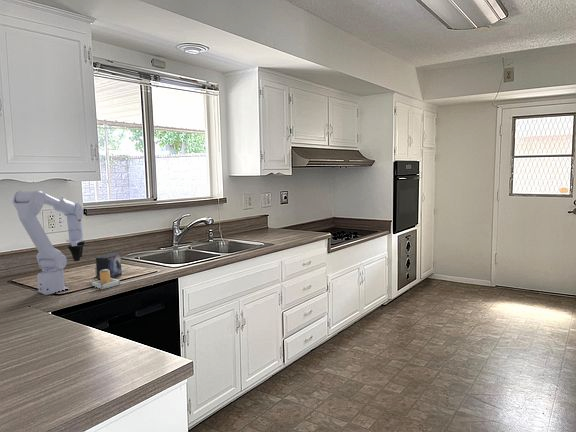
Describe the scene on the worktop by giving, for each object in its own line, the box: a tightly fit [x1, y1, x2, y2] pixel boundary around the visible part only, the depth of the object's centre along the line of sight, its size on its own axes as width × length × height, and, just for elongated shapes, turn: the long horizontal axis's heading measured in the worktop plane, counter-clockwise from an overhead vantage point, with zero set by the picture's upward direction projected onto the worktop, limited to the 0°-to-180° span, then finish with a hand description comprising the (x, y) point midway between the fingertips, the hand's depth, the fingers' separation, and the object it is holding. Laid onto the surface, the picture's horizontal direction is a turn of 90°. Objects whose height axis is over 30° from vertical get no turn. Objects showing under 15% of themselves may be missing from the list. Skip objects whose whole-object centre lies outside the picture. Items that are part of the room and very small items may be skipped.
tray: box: [91, 278, 121, 290], centre depth 189 cm, size 8×8×2 cm
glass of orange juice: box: [100, 269, 111, 284], centre depth 189 cm, size 4×4×6 cm
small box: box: [95, 252, 123, 280], centre depth 203 cm, size 11×6×10 cm, turn 167°
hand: (78, 259), depth 198 cm, fingers open, 7 cm apart
